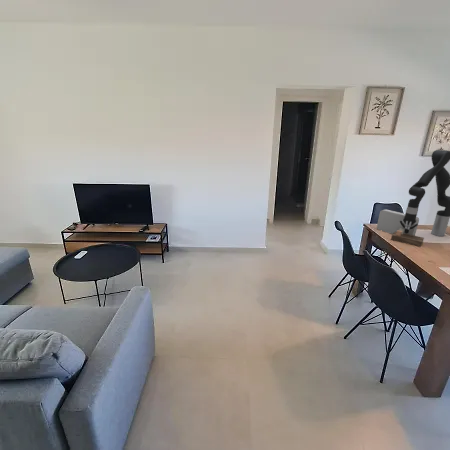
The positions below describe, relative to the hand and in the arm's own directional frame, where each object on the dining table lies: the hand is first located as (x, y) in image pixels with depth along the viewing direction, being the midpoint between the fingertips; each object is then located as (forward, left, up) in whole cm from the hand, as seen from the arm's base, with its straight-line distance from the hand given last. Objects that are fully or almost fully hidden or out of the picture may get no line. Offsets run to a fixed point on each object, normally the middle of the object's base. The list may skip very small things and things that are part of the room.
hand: (406, 233), depth 222 cm
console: (+3, +2, -5) cm, 6 cm away
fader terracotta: (+6, -4, -1) cm, 7 cm away
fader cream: (0, -4, -1) cm, 4 cm away
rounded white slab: (-10, -9, -6) cm, 15 cm away
